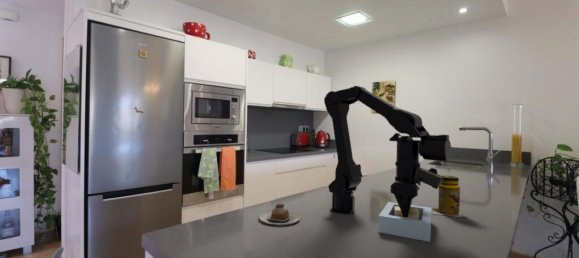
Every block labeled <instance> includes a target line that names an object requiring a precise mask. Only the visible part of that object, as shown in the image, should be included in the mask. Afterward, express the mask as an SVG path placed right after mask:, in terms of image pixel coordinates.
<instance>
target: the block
mask: <svg viewBox="0 0 579 258" xmlns="http://www.w3.org/2000/svg"><path fill="white" fill-rule="evenodd" d="M394 216H398V217H403V215H402V212H401V210H400V207H396V206H395V209H394ZM405 218H411V219H418V220H419V211H418V209H416V208H410V209H409V214H408V217H405Z"/></svg>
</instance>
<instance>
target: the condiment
mask: <svg viewBox="0 0 579 258" xmlns="http://www.w3.org/2000/svg"><path fill="white" fill-rule="evenodd" d="M441 176H442V180H441V183H440V185H439V187H438V202H437V203H438V207H437V208H436V207H430V206H429V208H431V214H433V215H443V216H449V217H458V218H464V216H463V215H462V214H461V213H460V208H461V207H460V206H461V205H460V204H461V203H460V201H461V197H460V195H461V187H460V185H459V184H460V182H459V180H460V179H459V177H457V176H454V175H441Z"/></svg>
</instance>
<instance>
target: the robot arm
mask: <svg viewBox="0 0 579 258" xmlns="http://www.w3.org/2000/svg"><path fill="white" fill-rule="evenodd" d="M323 101H324V106H325V109H326V112H327V113H328V116H330V118H331V121H332V127H333V128H332V129H333V134H334V135H333V136H334V141H335V148H336V155H337V164H336V167H335V172H334V173H335V174H334V177H335V178H334V179H333V181H331V182H330V183H329V184H328V190H329V191H328V192H329V193H332V195H331V201H332V202H331V208H330V212H335V213H341V214H352V213H353V211H354V210H355V209H356V208H355V207H356V205H355V204H356V197H355V196H354V192H356V191H357V188H358V186H359V185H360V184H361V182H362V178H363V177H364V176H363V174H362V167H361V164H360V163H359V164H356V162H355V160H354V158H353V157H354V156H353V151H352V150H353V149H352V142H351V139H350V138H351V136H350V132H349V131H350V129H349V123H348V114H349V111H350V105H353V104H356V102H359V103H361V104H363V105H364V106H366V107H367V108H369V109H371V110H372V111H374V112H375V113H377V114H379V115H380V116H382V117H383V118H384V119H385V120H386V121H387V122H388V124H389V125H390V126H391V127H392V128H393V129H394V130H396V132H395V133H394V134H393V135H392V136H391V137H390V138H389V139H388V141H389V142H396V159H395V160H396V161H395V163H394V165H395V169H396V170H395V176H394V182H393V183H391V184H390V194H393V196H394V197H395V200H396V203H398V205H399V207H400V210H401V212H402V215H403V217H408V214H409V209H410V207H411V205H412V203H413V199H414V198H417V197H418V195H419V191H420V187H419V186H421V185H422V183H423V184H426V185H428V186H430V187H431V188H433V189H435V190H439V185H440V183H441V180H442V176H443V175H441V174H439V173H438V169H437V168H434V167H430V168H429V169H426V168H423V167H421V162H420V157H422V159H423V160H425V161H432V162H433V161H435V162H446V163H449V162H450V161H451V159H452V152H453V148H452V144H451V141H450V135H449V134H439V135H437V134H436V135H435V134H430V133H429V132H428V130H427V129H426V128H425V126H424V124H423V119H422V117H421V116H420V115H418V114H416V113H414V112H411V111H409V110H405V109H402V108H399V107H396V106H394V105H392V104H391V103H389V102H388V101H386V100H384V99H382V98H381V97H379V96H377V95H376V94H374V93H373V92H371V91H369V90H368V89H366V88H365V87H364V86H360V85H354V86H351V87H348V88H345V89H344V88H343V89H339V90H336V91H333V90H331V91H329V92H327V93H326V95H325V96H324V99H323ZM401 134H403V135H401ZM417 138H418V139H417Z"/></svg>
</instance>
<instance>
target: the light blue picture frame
mask: <svg viewBox="0 0 579 258" xmlns="http://www.w3.org/2000/svg"><path fill="white" fill-rule="evenodd" d="M395 206H396V207H399V205H398V203H397V202H393V201H387V203H386V205H385V206H384V208H383V209H382V211H380V213H379V215H378V233H381V234H386V235H392V236H398V237H403V238H408V239H413V240H418V241H419V240H420V241H424V242H429V243H430V242H431V234H432V233H431V231H432V211H431V208H432V207H430V206H429V207H430V208H429V207H427V206H419V205H413V204H411V207H410V208H416V209H418V211H419V220H418V219H411V218H405V217H398V216H394V209H395Z"/></svg>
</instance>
